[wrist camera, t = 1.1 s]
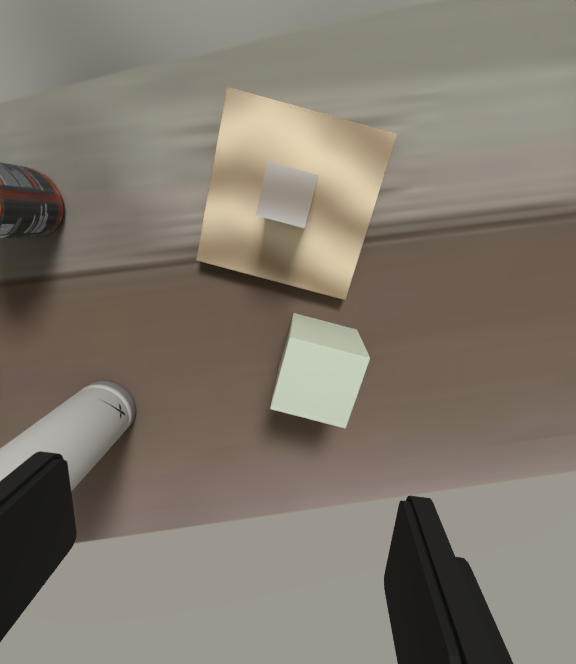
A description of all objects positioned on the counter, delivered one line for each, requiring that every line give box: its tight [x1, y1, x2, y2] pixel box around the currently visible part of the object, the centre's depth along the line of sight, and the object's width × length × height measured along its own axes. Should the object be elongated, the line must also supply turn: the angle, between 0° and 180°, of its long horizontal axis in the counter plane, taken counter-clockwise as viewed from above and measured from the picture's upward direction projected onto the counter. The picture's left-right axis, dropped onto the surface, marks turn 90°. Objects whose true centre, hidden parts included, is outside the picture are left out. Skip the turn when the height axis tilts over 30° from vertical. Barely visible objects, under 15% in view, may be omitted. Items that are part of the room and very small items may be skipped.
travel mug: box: [0, 381, 136, 492], centre depth 29 cm, size 6×7×20 cm
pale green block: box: [270, 313, 370, 428], centre depth 32 cm, size 6×6×8 cm
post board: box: [196, 87, 397, 300], centre depth 29 cm, size 14×14×8 cm
